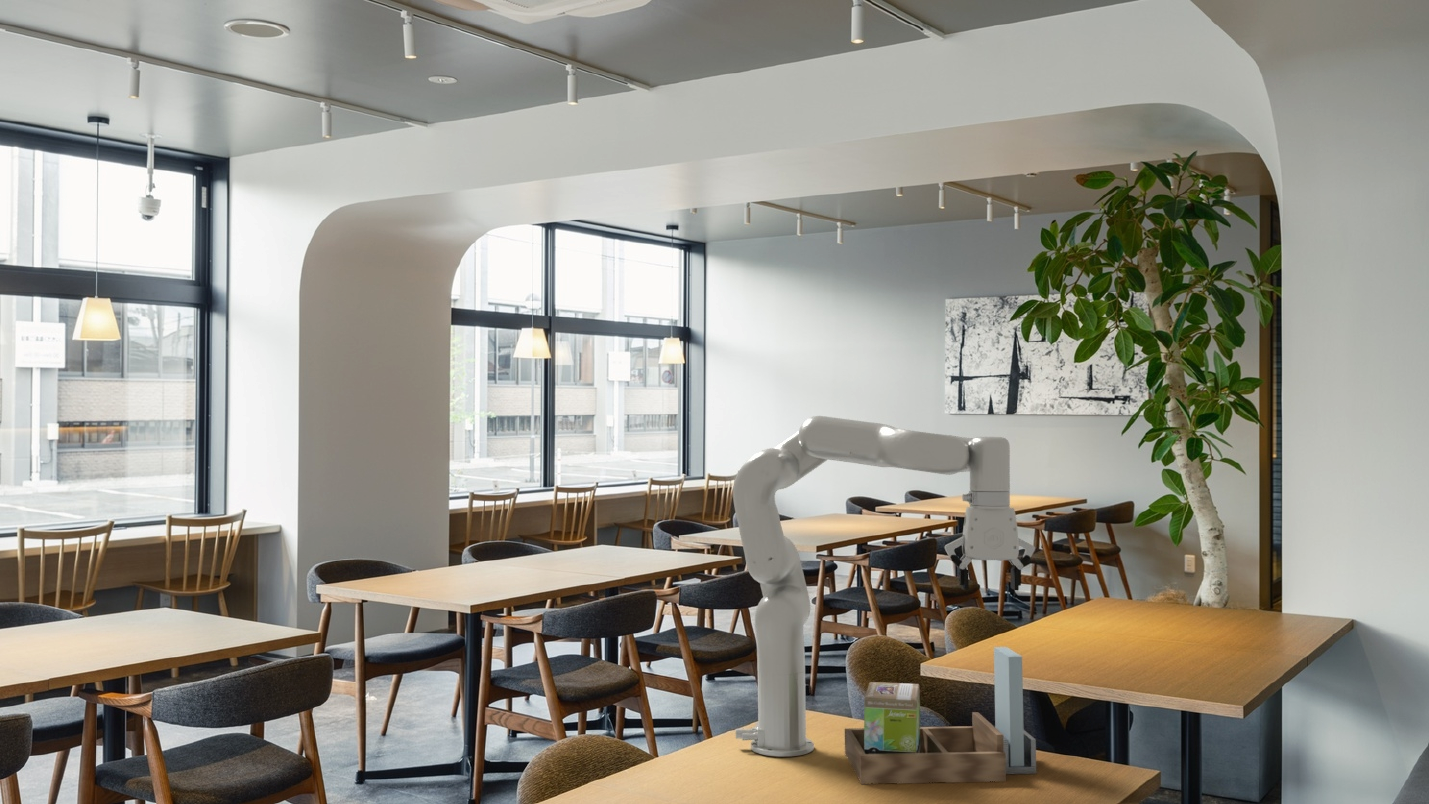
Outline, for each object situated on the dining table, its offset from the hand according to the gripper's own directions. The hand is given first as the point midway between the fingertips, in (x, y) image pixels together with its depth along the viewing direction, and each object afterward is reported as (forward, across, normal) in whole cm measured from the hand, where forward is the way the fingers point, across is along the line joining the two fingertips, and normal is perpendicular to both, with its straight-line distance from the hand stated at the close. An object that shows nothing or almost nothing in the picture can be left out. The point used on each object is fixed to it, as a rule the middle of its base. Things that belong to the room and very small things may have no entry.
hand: (989, 589), depth 223 cm
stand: (+32, +3, -4) cm, 33 cm away
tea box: (+33, -19, -4) cm, 39 cm away
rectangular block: (+31, +3, -4) cm, 32 cm away
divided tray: (+33, -14, -4) cm, 36 cm away
